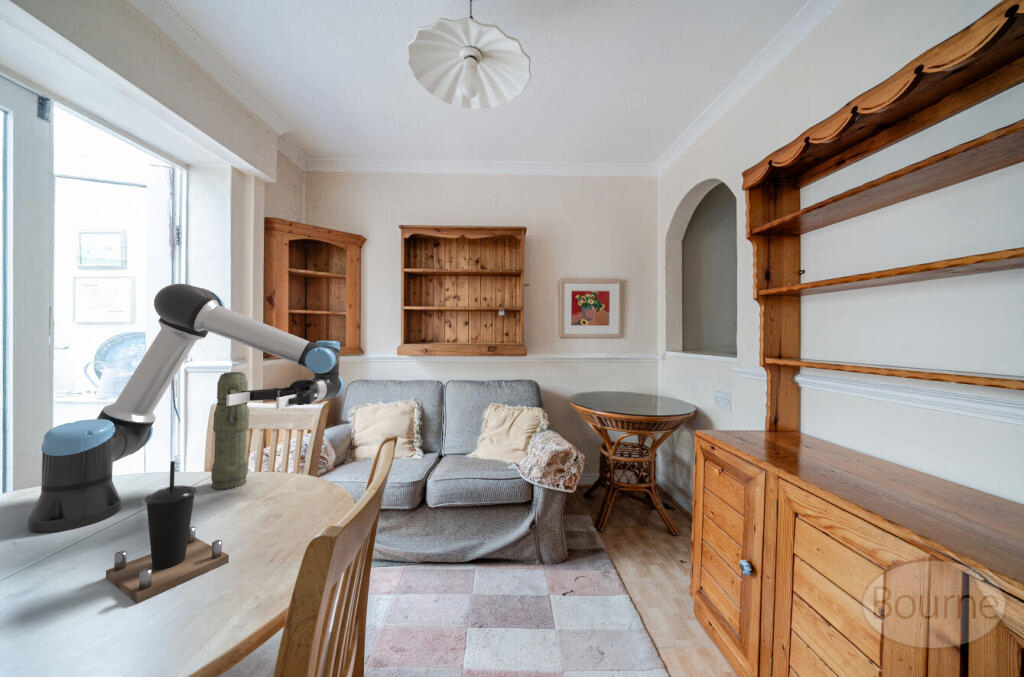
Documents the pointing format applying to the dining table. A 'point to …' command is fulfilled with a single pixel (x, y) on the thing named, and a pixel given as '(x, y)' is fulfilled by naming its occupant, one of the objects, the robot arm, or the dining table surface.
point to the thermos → (230, 434)
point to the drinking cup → (169, 522)
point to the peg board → (148, 582)
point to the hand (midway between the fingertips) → (252, 401)
